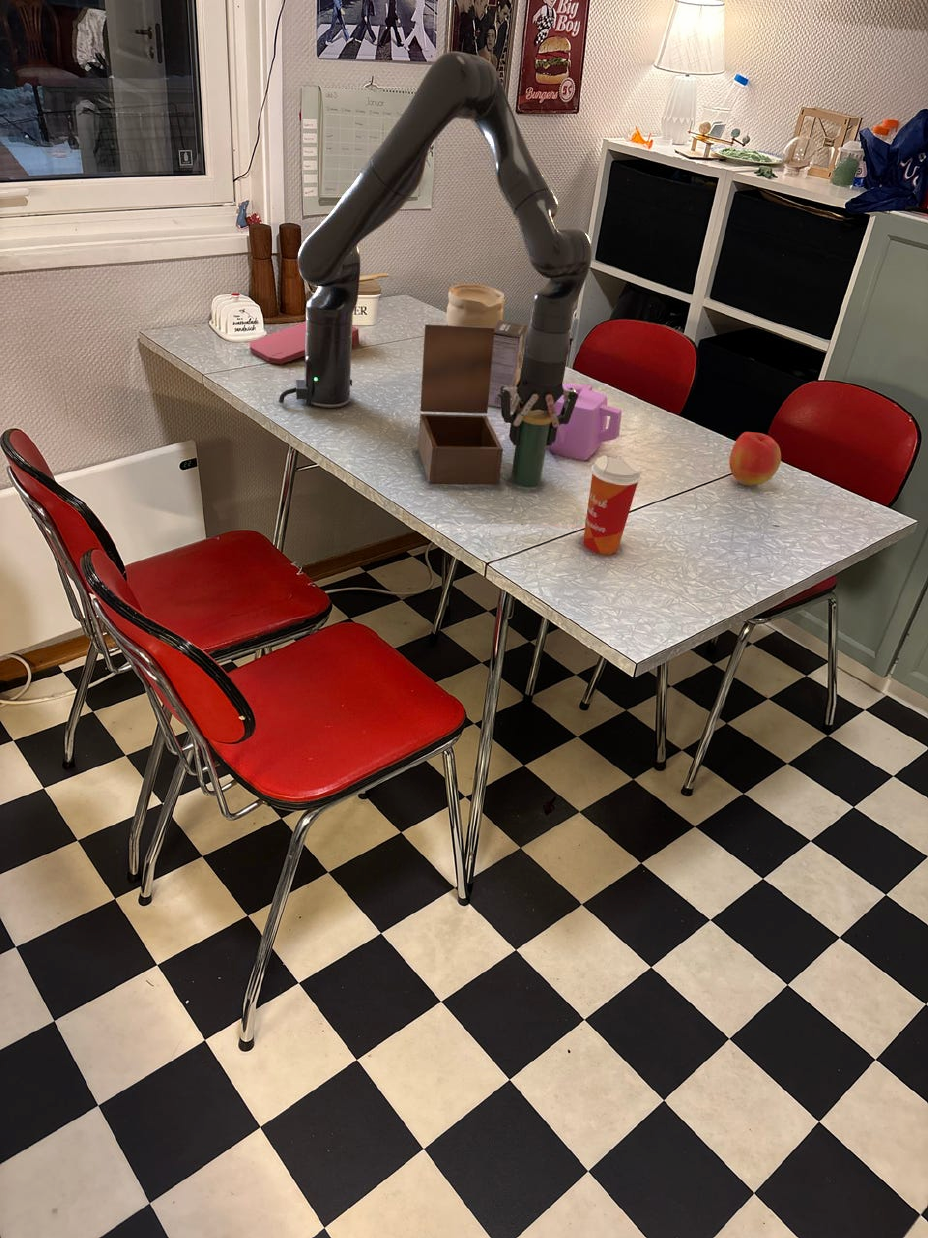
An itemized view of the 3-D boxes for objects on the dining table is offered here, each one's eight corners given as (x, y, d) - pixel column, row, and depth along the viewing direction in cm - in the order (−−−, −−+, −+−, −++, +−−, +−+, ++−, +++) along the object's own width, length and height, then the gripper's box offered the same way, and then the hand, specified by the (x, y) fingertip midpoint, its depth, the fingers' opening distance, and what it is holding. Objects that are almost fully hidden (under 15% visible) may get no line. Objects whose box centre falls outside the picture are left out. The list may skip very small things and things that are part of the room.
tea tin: (513, 490, 173) (524, 419, 165) (506, 476, 178) (516, 405, 170) (544, 491, 174) (556, 420, 166) (536, 476, 179) (548, 406, 171)
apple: (744, 496, 182) (759, 448, 176) (712, 474, 189) (726, 427, 183) (781, 490, 186) (797, 443, 180) (749, 468, 193) (763, 422, 187)
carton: (277, 380, 213) (364, 346, 226) (275, 360, 210) (363, 327, 223) (247, 363, 220) (333, 331, 233) (244, 343, 216) (331, 311, 229)
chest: (497, 488, 173) (503, 449, 169) (428, 488, 171) (432, 447, 166) (481, 453, 185) (486, 415, 181) (417, 452, 182) (420, 413, 178)
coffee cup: (572, 531, 163) (588, 452, 155) (618, 534, 164) (636, 455, 156) (581, 557, 156) (598, 475, 148) (629, 559, 157) (649, 478, 149)
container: (504, 371, 223) (515, 294, 213) (476, 385, 214) (486, 305, 204) (460, 356, 228) (468, 280, 218) (431, 369, 219) (438, 290, 209)
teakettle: (619, 459, 190) (632, 400, 183) (543, 464, 184) (553, 404, 177) (581, 423, 202) (592, 368, 195) (509, 428, 197) (517, 370, 190)
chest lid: (494, 328, 173) (493, 327, 174) (425, 324, 171) (424, 324, 171) (487, 413, 180) (486, 412, 181) (420, 411, 177) (420, 410, 178)
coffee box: (489, 389, 213) (499, 318, 204) (517, 395, 212) (528, 323, 203) (482, 404, 205) (491, 331, 196) (511, 409, 205) (521, 336, 195)
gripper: (579, 346, 166) (563, 435, 176) (500, 343, 163) (488, 434, 173) (592, 362, 160) (574, 453, 170) (509, 358, 157) (496, 452, 167)
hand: (531, 443), depth 171 cm, fingers closed on tea tin, 5 cm apart
